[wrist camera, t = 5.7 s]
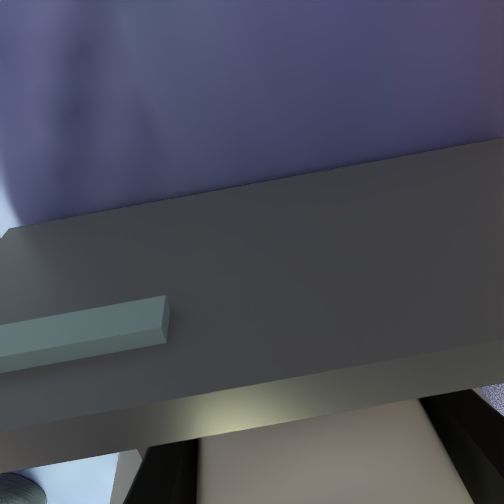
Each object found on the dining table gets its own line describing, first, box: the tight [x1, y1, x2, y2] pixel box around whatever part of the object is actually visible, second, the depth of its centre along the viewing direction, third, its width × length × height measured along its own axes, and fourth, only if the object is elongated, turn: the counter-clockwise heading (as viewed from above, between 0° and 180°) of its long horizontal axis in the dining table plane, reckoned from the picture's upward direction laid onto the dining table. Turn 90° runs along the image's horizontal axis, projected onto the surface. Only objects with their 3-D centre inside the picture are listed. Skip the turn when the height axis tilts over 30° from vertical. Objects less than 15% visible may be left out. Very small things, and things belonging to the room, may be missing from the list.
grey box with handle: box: [0, 138, 504, 474], centre depth 11 cm, size 13×10×7 cm
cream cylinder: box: [196, 398, 474, 504], centre depth 9 cm, size 5×5×4 cm
